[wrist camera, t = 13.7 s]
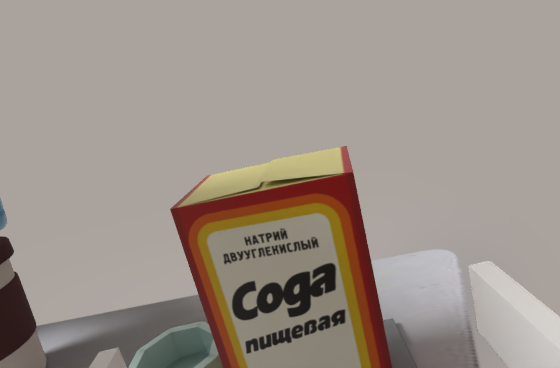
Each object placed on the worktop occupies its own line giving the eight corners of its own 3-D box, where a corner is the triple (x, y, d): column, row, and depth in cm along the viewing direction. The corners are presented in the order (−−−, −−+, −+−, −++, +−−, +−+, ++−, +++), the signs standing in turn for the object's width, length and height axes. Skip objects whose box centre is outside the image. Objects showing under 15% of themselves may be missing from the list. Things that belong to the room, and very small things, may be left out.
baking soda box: (247, 442, 24) (167, 202, 20) (264, 365, 30) (205, 170, 26) (404, 429, 22) (351, 164, 18) (387, 350, 29) (345, 140, 25)
